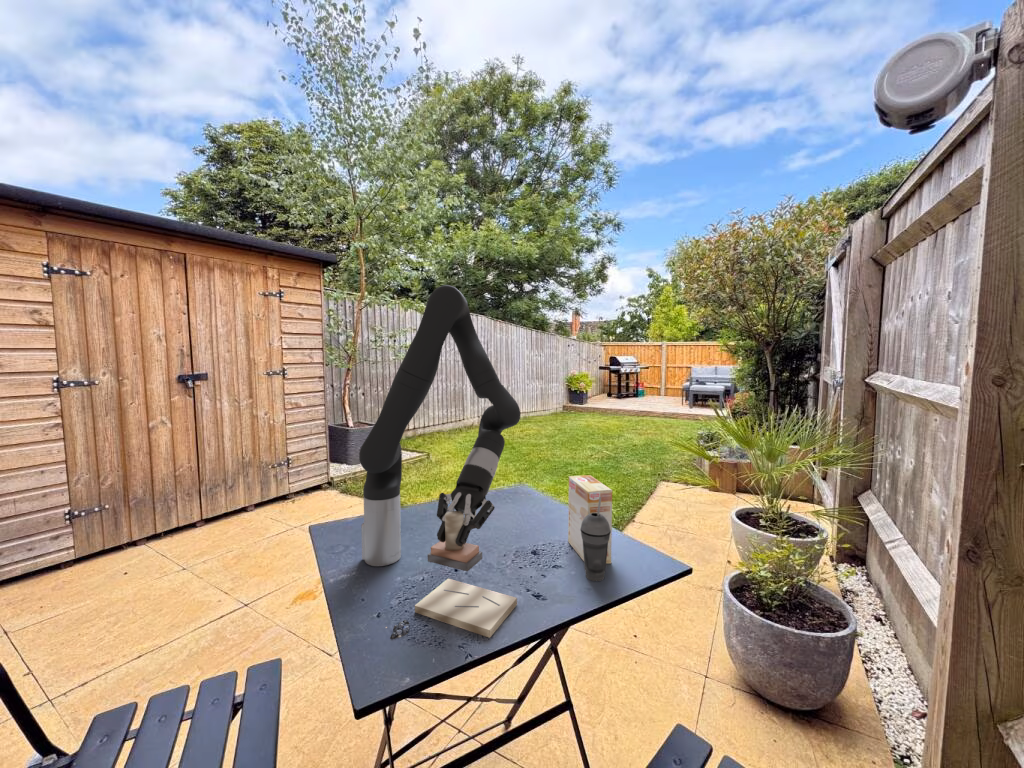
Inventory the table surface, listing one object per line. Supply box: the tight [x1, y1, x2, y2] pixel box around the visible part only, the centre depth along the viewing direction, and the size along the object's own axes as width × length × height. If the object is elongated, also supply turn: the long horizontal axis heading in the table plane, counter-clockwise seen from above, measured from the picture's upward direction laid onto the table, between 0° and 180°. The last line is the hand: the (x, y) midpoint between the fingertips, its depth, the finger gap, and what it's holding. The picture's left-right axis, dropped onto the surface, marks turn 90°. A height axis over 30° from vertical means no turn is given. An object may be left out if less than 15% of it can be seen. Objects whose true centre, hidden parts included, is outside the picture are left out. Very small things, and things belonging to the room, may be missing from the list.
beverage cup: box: [580, 497, 611, 582], centre depth 101 cm, size 7×7×20 cm
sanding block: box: [427, 510, 483, 573], centre depth 89 cm, size 10×6×10 cm, turn 64°
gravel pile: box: [385, 619, 411, 640], centre depth 82 cm, size 7×8×2 cm
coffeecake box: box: [567, 474, 613, 565], centre depth 114 cm, size 15×7×20 cm, turn 12°
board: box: [414, 578, 518, 638], centre depth 88 cm, size 18×12×2 cm, turn 64°
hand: (449, 542), depth 87 cm, fingers closed on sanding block, 4 cm apart
